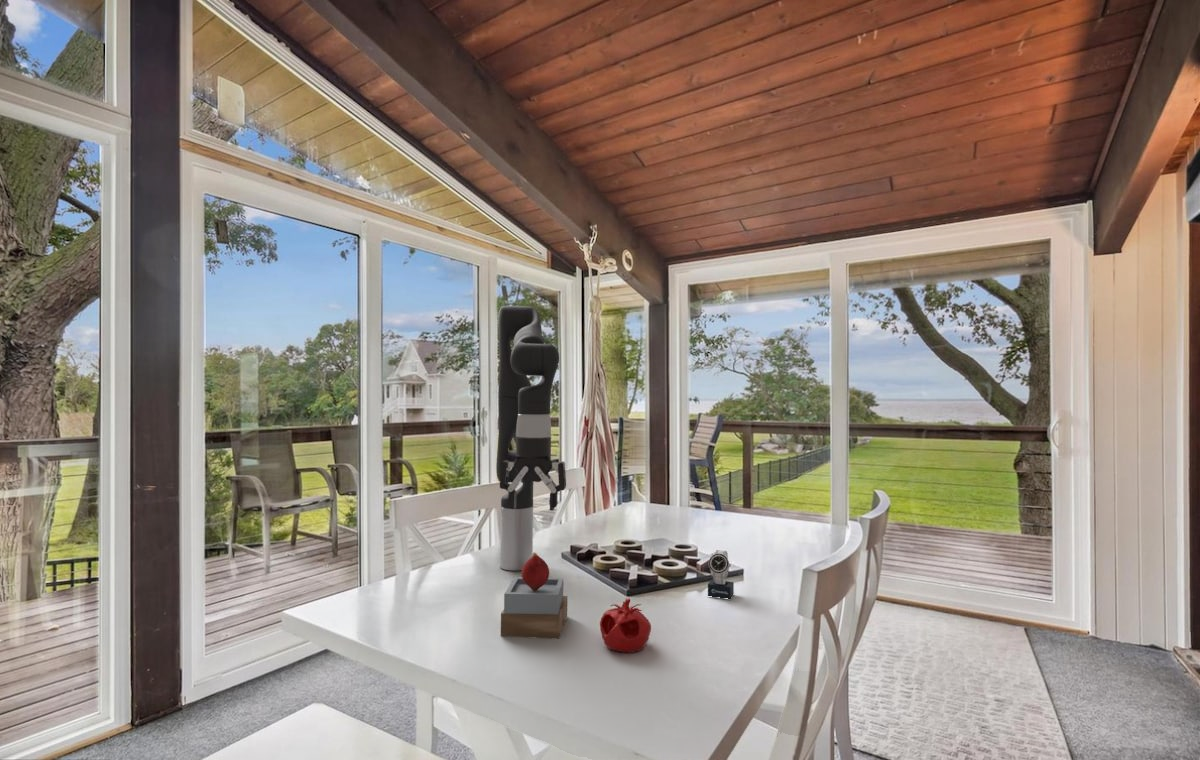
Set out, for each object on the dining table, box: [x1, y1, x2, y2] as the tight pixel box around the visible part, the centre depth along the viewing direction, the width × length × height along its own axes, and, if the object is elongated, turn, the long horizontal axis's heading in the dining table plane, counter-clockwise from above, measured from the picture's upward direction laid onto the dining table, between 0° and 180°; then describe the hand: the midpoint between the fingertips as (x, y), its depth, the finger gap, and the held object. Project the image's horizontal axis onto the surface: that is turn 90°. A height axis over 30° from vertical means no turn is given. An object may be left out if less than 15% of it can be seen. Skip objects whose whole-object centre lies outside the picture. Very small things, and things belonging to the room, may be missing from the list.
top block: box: [503, 576, 564, 615], centre depth 125 cm, size 11×11×4 cm
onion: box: [521, 551, 550, 591], centre depth 125 cm, size 6×6×8 cm
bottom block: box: [500, 595, 568, 640], centre depth 125 cm, size 12×12×5 cm
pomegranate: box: [599, 598, 652, 653], centre depth 116 cm, size 10×10×9 cm
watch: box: [707, 549, 735, 600], centre depth 146 cm, size 6×8×11 cm
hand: (532, 509), depth 128 cm, fingers open, 8 cm apart
